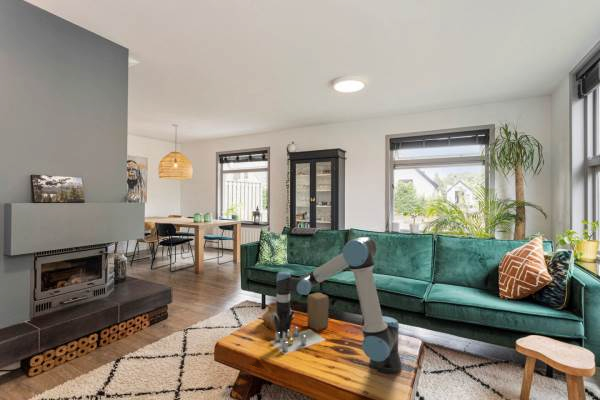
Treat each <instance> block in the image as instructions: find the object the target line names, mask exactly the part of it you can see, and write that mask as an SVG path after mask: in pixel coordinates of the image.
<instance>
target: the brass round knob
mask: <svg viewBox="0 0 600 400" xmlns="http://www.w3.org/2000/svg"><path fill="white" fill-rule="evenodd" d="M285 340H287V341H288V346H291V345H293V344H294V337H292V336H286V337H285Z"/></svg>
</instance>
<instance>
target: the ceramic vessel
mask: <svg viewBox="0 0 600 400" xmlns="http://www.w3.org/2000/svg"><path fill="white" fill-rule="evenodd" d="M276 302H277V301H272V302H269V303H268V305H267V309H268V310H266V312H265V313H264V314H263V316H262V321H263V323H264V325H265V328H268V329H269V330H270V331H273V332H274V333H275V332H277V331H276V327H275V323H274V319H273V317H272V315H275V314H276V310H277V307H276ZM290 310H292V309H291V307H290ZM277 317H278V315H277ZM295 318H296V317H295V315H294V314H293V316H292V321H293V320H294V319H295ZM277 319H278V323H279V317H278V318H277ZM292 321H291V323H292ZM289 330H290V331H291V330H293V327H292V324H291V325H290V329H289Z"/></svg>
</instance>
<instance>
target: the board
mask: <svg viewBox="0 0 600 400" xmlns="http://www.w3.org/2000/svg"><path fill="white" fill-rule="evenodd" d="M303 334H304V335H306V346H301V335H303ZM290 336H292V337H294V336H293V333H292V334H290ZM326 340H327V339H326V338H324V337H323V336H321V335H320V334H318V333H316V332H315V331H313V330H312V329H310V328H309V329H306V330H302V331H298V337H294V344H293V345H291V346H288V352H286V353H284V352H282V344H281V343H280V342H279V343H276V342H275V339H274V340H270V341H269V343H271V345H273V346H274V347H275V348H276V349H278V351H280V352H281V353H282V354H283V355H287V354H290V353H293V352H295V351H298V350H301V349H304V348H306V347H310V346H312V345H315V344H318V343H321V342H324V341H326Z"/></svg>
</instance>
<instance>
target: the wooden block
mask: <svg viewBox="0 0 600 400" xmlns="http://www.w3.org/2000/svg"><path fill="white" fill-rule="evenodd" d="M307 326H309V328H311V329H313V330H314V331H320V330H323V329H326V328H328V327H329V296H328V295H326V294H323V293H322V292H314V293H311V294H310V293H309V294H307Z"/></svg>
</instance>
